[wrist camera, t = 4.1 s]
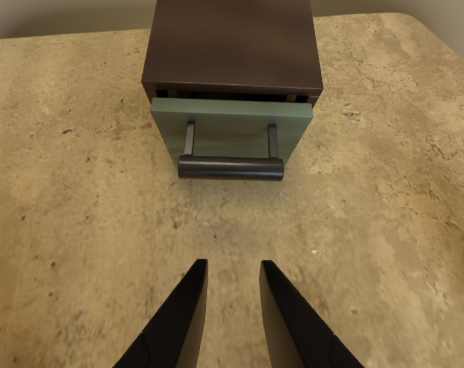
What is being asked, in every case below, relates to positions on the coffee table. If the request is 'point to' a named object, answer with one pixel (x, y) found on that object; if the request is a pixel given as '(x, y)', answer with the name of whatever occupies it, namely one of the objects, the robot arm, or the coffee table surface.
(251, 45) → the cabinet
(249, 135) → the drawer
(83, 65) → the coffee table surface
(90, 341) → the coffee table surface
